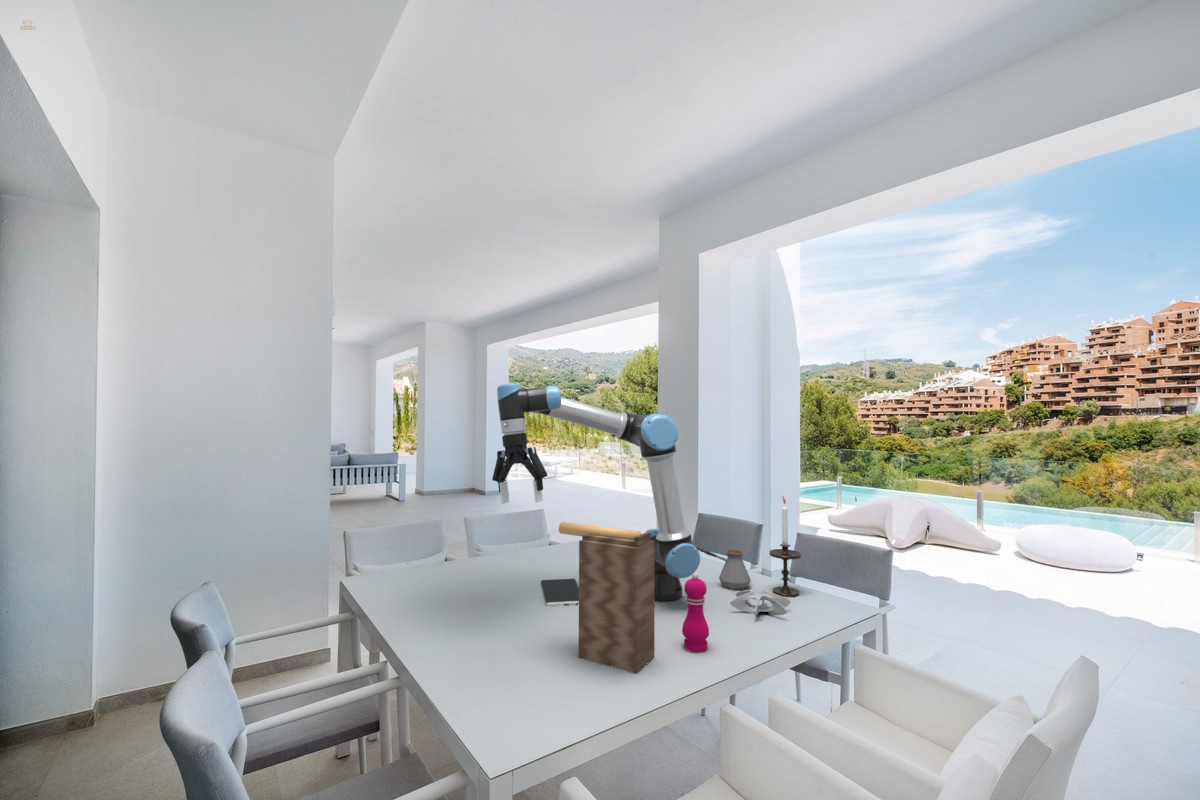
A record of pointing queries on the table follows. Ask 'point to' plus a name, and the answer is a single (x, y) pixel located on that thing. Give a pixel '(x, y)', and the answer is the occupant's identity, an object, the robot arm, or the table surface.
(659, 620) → the table surface
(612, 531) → the pin
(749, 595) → the sculpture
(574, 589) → the smartphone
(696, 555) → the robot arm
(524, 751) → the table surface
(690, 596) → the pepper mill
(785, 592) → the candlestick
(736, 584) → the coffee pot
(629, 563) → the stand
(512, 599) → the table surface
